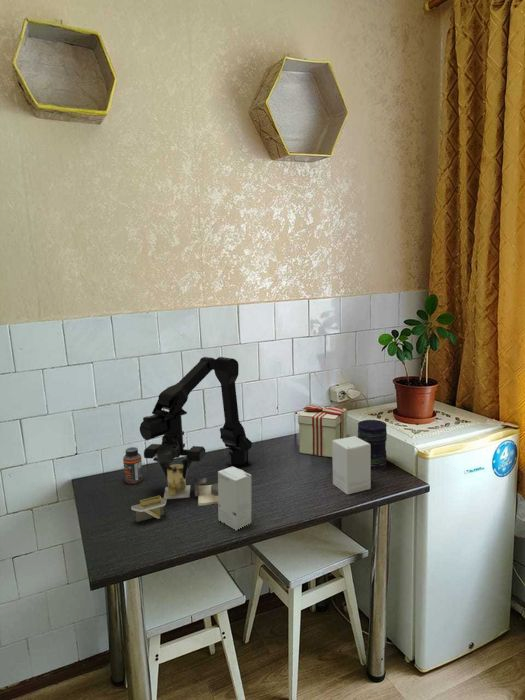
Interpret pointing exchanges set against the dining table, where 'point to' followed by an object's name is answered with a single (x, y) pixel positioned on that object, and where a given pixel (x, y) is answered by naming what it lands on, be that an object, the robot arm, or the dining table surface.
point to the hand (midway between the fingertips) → (176, 477)
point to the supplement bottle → (132, 466)
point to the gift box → (321, 429)
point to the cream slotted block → (206, 492)
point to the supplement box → (351, 464)
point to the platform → (149, 508)
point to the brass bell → (175, 479)
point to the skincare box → (234, 497)
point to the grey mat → (178, 493)
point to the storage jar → (374, 441)
